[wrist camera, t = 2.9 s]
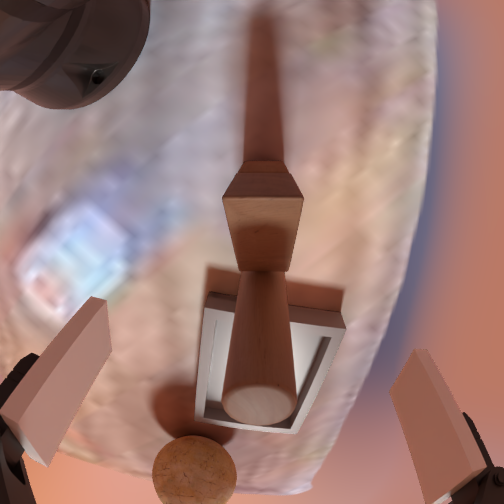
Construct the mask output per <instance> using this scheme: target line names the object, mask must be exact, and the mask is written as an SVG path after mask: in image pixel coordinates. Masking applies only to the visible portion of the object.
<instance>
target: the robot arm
mask: <svg viewBox="0 0 504 504" xmlns="http://www.w3.org/2000/svg"><path fill="white" fill-rule="evenodd" d="M148 28H149V9H148V5H147V2H146V0H0V91H4V90H10V91H14V92H16V93H17V94H19V95H21V96H23V97H25V98H26V99H28V100H30V101H32V102H33V103H35V104H37V105H39V106H41V107H44V108H49V109H76V108H81V107H84V106H87V105H89V104H92V103H94V102H96V101H97V100H99V99H101V98H102V97H104V96H105V95H107V94H108V93H109V92H110V91H112V90H113V89H114V88H115V87H116V86H117V85H118V84H119V83H120V82H121V81H122V80H123V79H124V78H125V76H126V75H127V74H128V73H129V71H130V70H131V68H132V67H133V66H134V64H135V62H136V61H137V59H138V57H139V55H140V53H141V51H142V49H143V46H144V44H145V41H146V37H147V33H148ZM111 352H112V346H111V338H110V330H109V320H108V310H107V300H103V299H99V298H95V297H92V296H91V297H90V298H89V299H88V300H87V301H86V302H85V303H84V305H83V306H82V307H81V308H80V309H79V310H78V311H77V313H76V314H75V315H74V316H73V317H72V318H71V319H70V321H69V322H68V323H67V324H66V325H65V326H64V328H63V329H62V330H61V331H60V332H59V334H58V335H57V336H56V337H55V338H54V340H53V341H52V342H51V343H50V344H49V346H48V347H47V348H46V349H45V351H44V352H43V353H42V354H41V356H38V355H36V354H34V353H30V354H29V355H27V356H26V357H24V358H22V359H21V360H20V361H19V362H18V363H17V365H16V366H15V367H14V368H13V371H11V372H10V373H9V375H8V376H7V378H5V380H4V381H3V382H2V383H1V385H0V504H36V501H35V498H34V495H33V492H32V489H31V486H30V482H29V479H28V476H27V472H26V468H25V464H24V461H23V459H22V457H21V456H22V454H23V452H24V450H25V452H26V453H27V454H28V455H29V457H30V458H31V459H33V460H35V461H36V462H38V463H40V464H42V465H44V466H46V467H49V465H50V463H51V461H52V459H53V457H54V455H55V453H56V451H57V449H58V447H59V445H60V443H61V441H62V439H63V437H64V435H65V433H66V431H67V430H68V428H69V426H70V424H71V422H72V420H73V418H74V416H75V415H76V413H77V411H78V409H79V407H80V405H81V404H82V402H83V400H84V398H85V396H86V395H87V393H88V391H89V389H90V388H91V386H92V384H93V382H94V381H95V379H96V377H97V375H98V374H99V372H100V370H101V369H102V367H103V365H104V364H105V362H106V360H107V358H108V357H109V355H110V353H111ZM389 393H390V396H391V398H392V401H393V404H394V407H395V409H396V412H397V415H398V418H399V421H400V423H401V426H402V429H403V432H404V435H405V438H406V441H407V444H408V447H409V450H410V453H411V456H412V460H413V463H414V466H415V469H416V472H417V476H418V479H419V483H420V486H421V490H422V493H423V497H424V500H425V504H440V503H442V502H444V501H445V500H446V499H447V498H449V497H451V498H452V501H451V502H450V503H449V504H504V468H503V467H494V465H493V463H492V461H491V458H490V456H489V454H488V452H487V450H486V448H485V445H484V443H483V441H482V439H480V435H479V433H478V432H477V429H476V427H475V425H474V423H473V421H472V420H471V419H470V417H468V415H467V414H466V413H465V412H463V413H462V412H461V410H460V408H459V406H458V404H457V402H456V400H455V399H454V397H453V395H452V393H451V391H450V389H449V387H448V385H447V384H446V382H445V380H444V378H443V376H442V375H441V373H440V371H439V370H438V368H437V366H436V364H435V362H434V361H433V359H432V357H431V355H430V354H429V352H428V350H426V349H414V350H413V352H412V353H411V355H410V357H409V359H408V361H407V362H406V364H405V366H404V368H403V369H402V371H401V373H400V375H399V376H398V378H397V379H396V381H395V383H394V385H393V386H392V387H391V389H390V391H389Z"/></svg>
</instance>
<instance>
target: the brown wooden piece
mask: <svg viewBox="0 0 504 504" xmlns="http://www.w3.org/2000/svg"><path fill="white" fill-rule="evenodd" d="M222 200H223V205H224V209H225V213H226V218H227V222H228V226H229V230H230V235H231V239H232V243H233V247H234V252H235V256H236V260H237V264H238V268H239V270H240V271H241V277H240V283H239V289H238V295H237V302H236V308H235V314H234V320H233V327H232V333H231V339H230V346H229V352H228V359H227V365H226V371H225V378H224V384H223V391H222V398H221V402H222V404H223V407H224V410H225V412H226V413H227V414H228V415H229V416H230V417H231V418H233V419H235V420H237V421H239V422H242V423H245V424H248V425H257V426H262V425H271V424H275V423H278V422H281V421H283V420H284V419H286V418H288V417H289V416H290V415H291V414H292V413H293V411H294V409H295V407H296V404H297V391H296V380H295V369H294V358H293V348H292V338H291V328H290V319H289V309H288V300H287V291H286V283H285V272H287V271H288V270H289V267H290V262H291V258H292V253H293V249H294V244H295V239H296V235H297V230H298V225H299V221H300V216H301V211H302V206H303V201H304V197H303V195H302V193H301V191H300V189H299V188H298V186H297V184H296V182H295V180H294V178H293V177H292V175H291V174H290V173H289V172H288V170H287V168H286V166H285V164H284V162H282V161H246V162H244V163H243V165H242V166H241V168H240V170H239V171H238V173H237V174H236V175H235V177H234V179H233V180H232V182H231V183H230V185H229V187H228V188H227V190H226V192H225V193H224V195H223V197H222Z"/></svg>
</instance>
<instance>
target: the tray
mask: <svg viewBox="0 0 504 504" xmlns="http://www.w3.org/2000/svg"><path fill="white" fill-rule="evenodd" d="M236 302H237V296H231V295H226V294H220V293H215V292H209V295H208V298H207V301H206V304H205V308H204V317H203V326H202V336H201V346H200V356H199V367H198V378H197V389H196V401H195V414H194V421H197V422H202V423H208V424H214V425H219V426H226V427H232V428H239V429H247V430H255V431H264V432H275V433H287V434H297V433H298V431H299V429H300V427H301V425H302V423H303V422H304V420H305V418H306V416H307V414H308V412H309V410H310V408H311V406H312V404H313V402H314V400H315V398H316V396H317V394H318V392H319V390H320V388H321V386H322V383H323V381H324V379H325V377H326V375H327V373H328V371H329V368H330V366H331V364H332V362H333V359H334V357H335V355H336V353H337V350H338V348H339V346H340V343H341V341H342V339H343V336H344V334H345V332H346V326H345V324H344V321H343V318H342V315H341V312H333V311H326V310H319V309H312V308H305V307H299V306H292V305H288V309H289V319H290V328H291V338H292V348H293V358H294V369H295V380H296V391H297V404H296V407H295V409H294V411H293V413H292V414H291V415H290V416H289V417H288V418H286V419H284V420H283V421H281V422H278V423H275V424H271V425H262V426H257V425H248V424H245V423H242V422H239V421H237V420H235V419H233V418H231V417H230V416H229V415H228V414H227V413H226V412H225V410H224V407H223V404H222V402H221V398H222V391H223V384H224V378H225V371H226V365H227V359H228V352H229V346H230V339H231V333H232V327H233V320H234V314H235V308H236Z"/></svg>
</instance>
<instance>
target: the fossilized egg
mask: <svg viewBox="0 0 504 504" xmlns="http://www.w3.org/2000/svg"><path fill="white" fill-rule="evenodd" d="M152 478H153V483H154V487H155V490H156V492H157V495H158V497H159V498H160V500H161V502H162V503H163V504H226V503H227V502H228V501H229V499H230V498H231V496H232V494H233V492H234V489H235V486H236V480H237V474H236V468H235V464H234V462H233V460H232V458H231V456H230V455H229V453H228V452H227V451H226V450H225V449H224V448H223V447H222V446H221V445H220V444H218V443H217V442H215V441H213V440H211V439H209V438H206V437H202V436H194V435H191V436H184V437H180V438H177V439H175V440H173V441H171V442H169V443H168V444H166V445H165V446H164V447H163V448H162V449H161V450H160V452H159V453H158V455H157V457H156V458H155V461H154V465H153V469H152Z"/></svg>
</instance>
